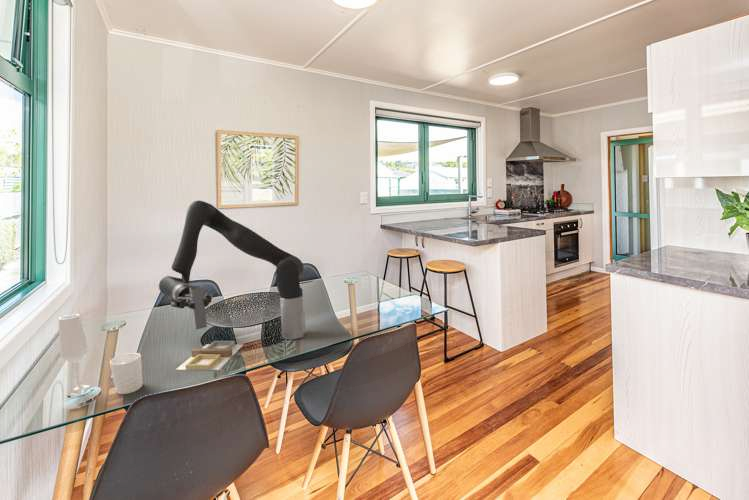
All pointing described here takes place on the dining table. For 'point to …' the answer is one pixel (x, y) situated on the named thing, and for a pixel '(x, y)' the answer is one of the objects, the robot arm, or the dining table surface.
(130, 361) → the white cup
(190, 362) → the white board with frames
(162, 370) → the dining table surface
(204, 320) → the bar
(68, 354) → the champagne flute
